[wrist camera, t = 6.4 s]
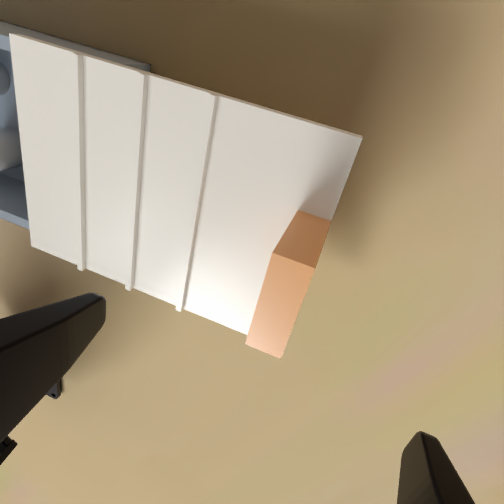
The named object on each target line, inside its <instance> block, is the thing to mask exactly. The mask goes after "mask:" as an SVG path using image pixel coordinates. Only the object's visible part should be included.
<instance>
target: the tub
mask: <svg viewBox="0 0 504 504" xmlns="http://www.w3.org/2000/svg"><path fill="white" fill-rule="evenodd" d="M9 33H13V34H22V35H25V36H29V37H32V38H35V39H39V40H42V41H45V42H49V43H52V44H56V45H59V46H62V47H66V48H69V49H72V50H76V51H79V52H82V53H86V54H89V55H93V56H96V57H99V58H103V59H106V60H109V61H113V62H116V63H119V64H123V65H126V66H130V67H133V68H136V69H140V70H143V71H146V72H150V64H147V63H144V62H140V61H137V60H133V59H130V58H127V57H123V56H120V55H116V54H113V53H110V52H106V51H103V50H99V49H96V48H92V47H89V46H86V45H82V44H79V43H75V42H72V41H69V40H65V39H62V38H58V37H55V36H52V35H48V34H45V33H41V32H38V31H34V30H31V29H28V28H24V27H21V26H17V25H14V24H11V23H7V22H4V21H0V218H1V219H4V220H6V221H9V222H11V223H14V224H16V225H19V226H21V227H24V228H26V229H29V219H28V210H27V200H26V191H25V181H24V172H23V162H22V153H21V143H20V133H19V124H18V114H17V105H16V95H15V86H14V76H13V67H12V57H11V48H10V38H9ZM29 230H30V229H29Z"/></svg>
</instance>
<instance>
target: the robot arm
mask: <svg viewBox="0 0 504 504" xmlns="http://www.w3.org/2000/svg"><path fill="white" fill-rule="evenodd" d="M105 318H106V299H105V298H104V297H103V296H101V295H98V294H96V293H87V294H84V295H80V296H77V297H73V298H70V299H67V300H63V301H60V302H56V303H53V304H50V305H46V306H43V307H39V308H36V309H32V310H29V311H26V312H22V313H19V314H15V315H12V316H9V317H5V318H2V319H0V465H1V464H2V463H3V461H4V460H5V459H6V458H7V457H8V455H9V454H10V453H11V452H12V450H13V449H14V448H15V447H16V446H17V443H16V442H15V441H14V440H11V439H10V438H9V437H8V434H9V433H10V432H11V431H12V430H13V429H14V428H15V427H16V426H17V425H18V423H19V422H20V421H21V420H22V419H23V418H24V417H25V416H26V415H27V414H28V413H29V412H30V411H31V410H32V409H33V407H34V406H35V405H36V404H37V403H38V402H39V401H40V400H41V399H42V398H43V397H44V396H45V395H48V396H50V397H52V398H54V399H57V398H58V397H59V396H60V395H61V390H60V379H61V378H62V377H63V375H64V374H65V373H66V372H67V371H68V370H69V369H70V368H71V366H72V365H73V364H74V363H75V361H76V360H77V359H78V357H79V356H80V355H81V354H82V352H83V351H84V350H85V348H86V347H87V346H88V344H89V343H90V342H91V340H92V339H93V338H94V337H95V335H96V334H97V333H98V331H99V330H100V329H101V327H102V326H103V324H104V322H105ZM397 504H475V502H474V501H473V499H472V497H471V496H470V494H469V492H468V490H467V489H466V487H465V485H464V484H463V482H462V480H461V478H460V477H459V475H458V473H457V471H456V470H455V468H454V466H453V465H452V463H451V461H450V459H449V458H448V456H447V454H446V452H445V451H444V449H443V447H442V446H441V444H440V442H439V441H438V439H437V438H436V437H434V436H432V435H429V434H427V433H425V432H422V431H419V432H417V433H416V434H415V436H414V437H413V438H412V439H411V441H410V442H409V443H408V444H407V446H406V447H405V449H404V451H403V453H402V458H401V468H400V478H399V488H398V498H397Z"/></svg>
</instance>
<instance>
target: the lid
mask: <svg viewBox="0 0 504 504" xmlns="http://www.w3.org/2000/svg"><path fill="white" fill-rule="evenodd" d="M9 38H10V48H11V57H12V67H13V76H14V86H15V95H16V105H17V114H18V124H19V133H20V143H21V153H22V162H23V172H24V181H25V191H26V200H27V210H28V219H29V229H30V238H31V246H32V247H34V248H37V249H39V250H42V251H44V252H47V253H49V254H52V255H54V256H56V257H59V258H61V259H64V260H66V261H69V262H71V263H73V264H76V265H77V268H78V270H80V271H83V270H85V269H88V270H90V271H93V272H95V273H98V274H100V275H103V276H105V277H108V278H110V279H112V280H115V281H117V282H120V283H122V284H125V289H126V290H129V291H131V290H132V289H133V288H134V289H137V290H139V291H142V292H144V293H146V294H149V295H151V296H154V297H156V298H159V299H161V300H163V301H166V302H168V303H171V304H173V305H176V310H177V311H180V312H181V311H182V310H183V309H185V310H188V311H190V312H193V313H195V314H198V315H200V316H202V317H205V318H207V319H210V320H212V321H215V322H217V323H219V324H222V325H224V326H227V327H229V328H232V329H234V330H237V331H239V332H241V333H244V334H246V335H247V339H246V342H245V344H246V345H249V346H251V347H253V348H256V349H258V350H261V351H263V352H265V353H268V354H270V355H273V356H275V357H277V358H280V359H281V357H282V355H283V352H284V349H285V347H286V344H287V342H288V339H289V336H290V334H291V331H292V329H293V326H294V323H295V321H296V318H297V315H298V313H299V310H300V308H301V305H302V302H303V300H304V297H305V294H306V292H307V289H308V287H309V284H310V281H311V279H312V276H313V273H314V271H315V268H316V265H317V262H318V259H319V256H320V253H321V250H322V247H323V244H324V241H325V238H326V235H327V232H328V229H329V226H330V223H331V221H332V218H333V215H334V213H335V210H336V207H337V205H338V202H339V199H340V197H341V194H342V191H343V189H344V186H345V184H346V181H347V178H348V176H349V173H350V170H351V168H352V165H353V162H354V160H355V157H356V154H357V152H358V149H359V146H360V144H361V141H362V138H363V136H362V135H358V134H355V133H352V132H348V131H345V130H341V129H338V128H335V127H331V126H328V125H325V124H321V123H318V122H315V121H311V120H308V119H304V118H301V117H298V116H294V115H291V114H288V113H284V112H281V111H278V110H274V109H271V108H267V107H264V106H261V105H257V104H254V103H251V102H247V101H244V100H241V99H237V98H234V97H230V96H227V95H224V94H220V93H217V92H214V91H210V90H207V89H204V88H200V87H197V86H193V85H190V84H187V83H183V82H180V81H177V80H173V79H170V78H167V77H163V76H160V75H156V74H153V73H150V72H146V71H143V70H140V69H136V68H133V67H130V66H126V65H123V64H119V63H116V62H113V61H109V60H106V59H103V58H99V57H96V56H93V55H89V54H86V53H82V52H79V51H76V50H72V49H69V48H66V47H62V46H59V45H56V44H52V43H49V42H45V41H42V40H39V39H35V38H32V37H29V36H25V35H22V34H13V33H9Z"/></svg>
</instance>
